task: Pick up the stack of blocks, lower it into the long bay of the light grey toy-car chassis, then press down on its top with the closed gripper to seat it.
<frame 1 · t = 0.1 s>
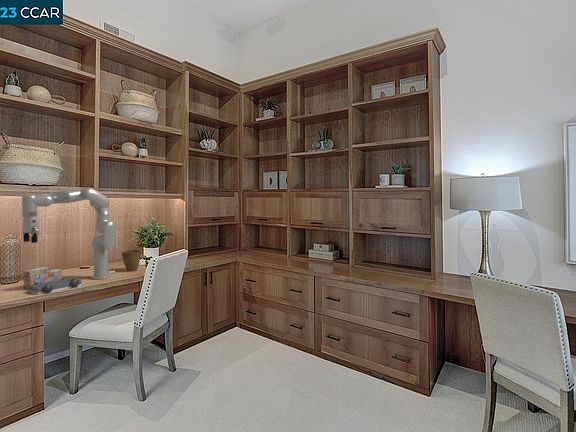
hand: (30, 242, 212), 31 cm above the table, tool pointing down, fingers open, 9 cm apart
stack of blocks: (44, 286, 227), on the table
chassis: (56, 288, 220), on the table
plant pot: (131, 270, 279), on the table
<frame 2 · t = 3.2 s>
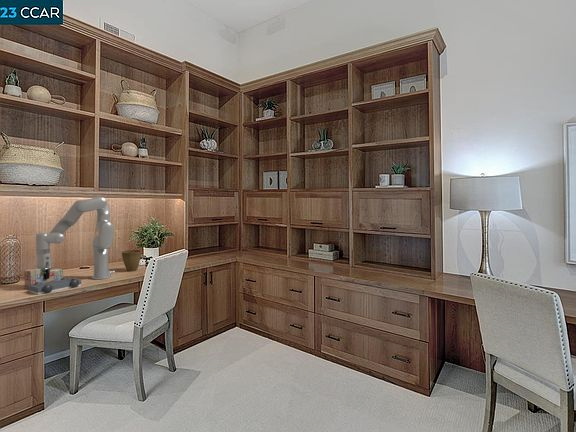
hand: (43, 277, 227), 5 cm above the table, tool pointing down, fingers closed on stack of blocks, 6 cm apart
stack of blocks: (44, 285, 228), on the table, touching gripper
everything else where it was.
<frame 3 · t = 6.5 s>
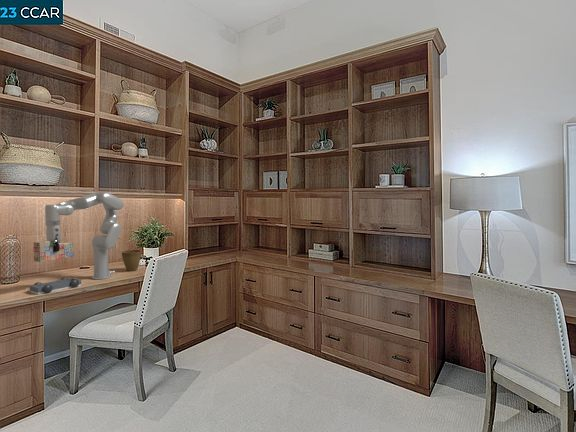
hand: (53, 250, 221), 25 cm above the table, tool pointing down, fingers closed on stack of blocks, 6 cm apart
stack of blocks: (54, 259, 221), point 19 cm above the table, touching gripper
everything else where it was.
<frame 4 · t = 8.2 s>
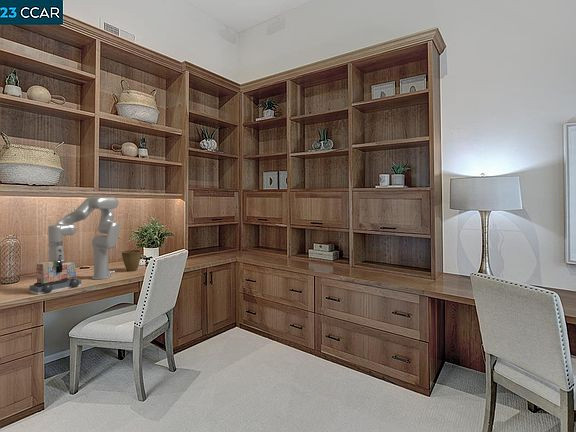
hand: (56, 271, 220), 11 cm above the table, tool pointing down, fingers closed on stack of blocks, 6 cm apart
stack of blocks: (57, 279, 221), point 6 cm above the table, touching gripper
everything else where it was.
when the fingers open (7 cm above the table, at t = 9.6 s): stack of blocks stays where it is, resting on chassis.
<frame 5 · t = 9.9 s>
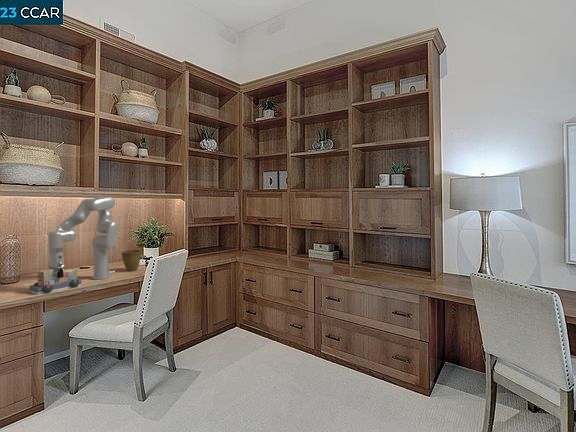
hand: (56, 276, 220), 8 cm above the table, tool pointing down, fingers open, 9 cm apart
stack of blocks: (58, 287, 221), point 1 cm above the table, touching chassis
everything else where it was.
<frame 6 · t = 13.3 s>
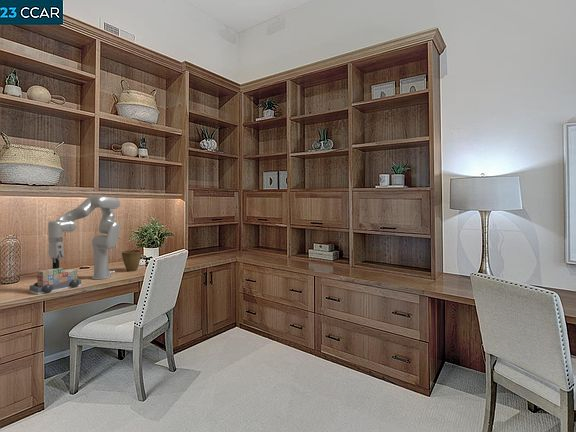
hand: (56, 268, 220), 13 cm above the table, tool pointing down, fingers closed
stack of blocks: (58, 287, 222), point 1 cm above the table, touching chassis, gripper
everything else where it was.
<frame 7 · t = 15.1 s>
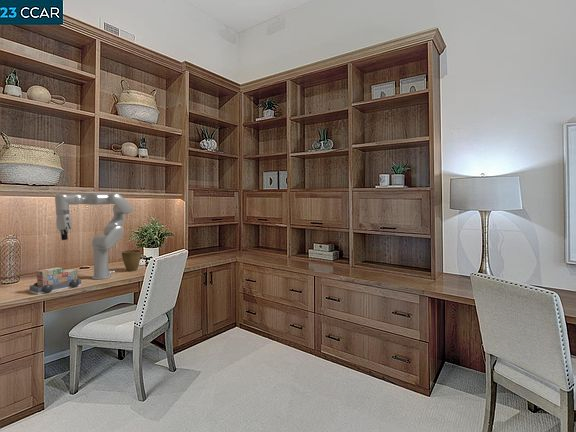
hand: (64, 239, 229), 31 cm above the table, tool pointing down, fingers closed
stack of blocks: (58, 286, 222), point 1 cm above the table, touching chassis
everything else where it was.
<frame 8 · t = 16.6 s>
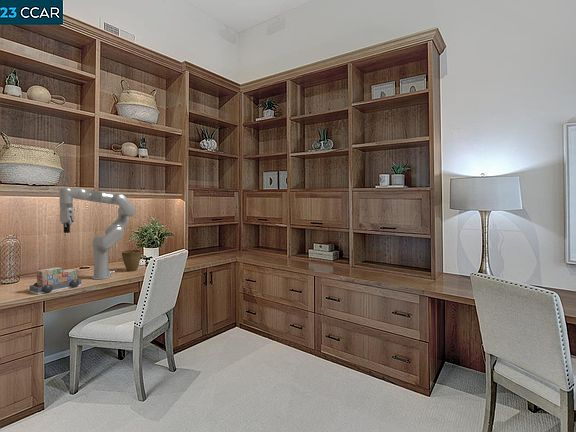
hand: (66, 232, 233), 35 cm above the table, tool pointing down, fingers closed
nothing on the table moved.
at the end: stack of blocks 1.6 cm off-centre on the chassis, point 0.8 cm above the chassis's base; stack of blocks tilted 0°; the gripper is holding nothing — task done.
